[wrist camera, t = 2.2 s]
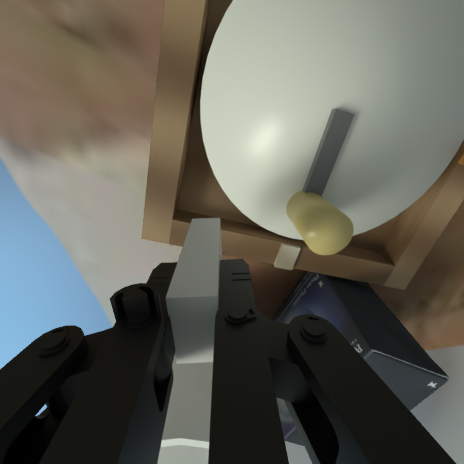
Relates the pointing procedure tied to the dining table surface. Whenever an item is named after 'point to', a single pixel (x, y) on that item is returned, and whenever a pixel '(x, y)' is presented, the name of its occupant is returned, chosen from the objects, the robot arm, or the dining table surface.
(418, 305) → the dining table surface
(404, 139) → the dial
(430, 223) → the housing
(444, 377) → the small box
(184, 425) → the foam cup
